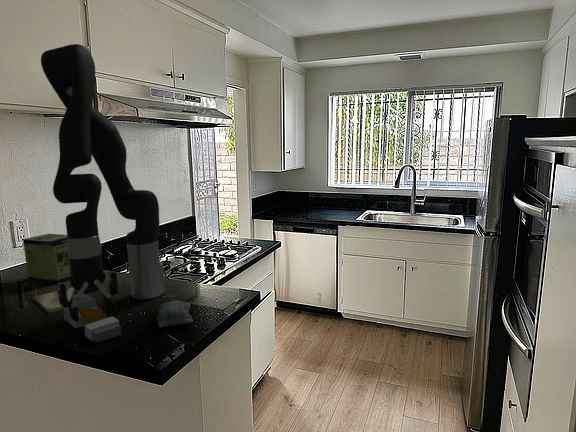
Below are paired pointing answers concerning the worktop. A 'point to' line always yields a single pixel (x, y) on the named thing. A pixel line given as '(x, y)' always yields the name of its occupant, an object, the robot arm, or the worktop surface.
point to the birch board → (52, 300)
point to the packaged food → (174, 313)
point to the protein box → (47, 258)
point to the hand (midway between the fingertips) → (91, 316)
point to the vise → (96, 329)
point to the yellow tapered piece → (92, 314)
